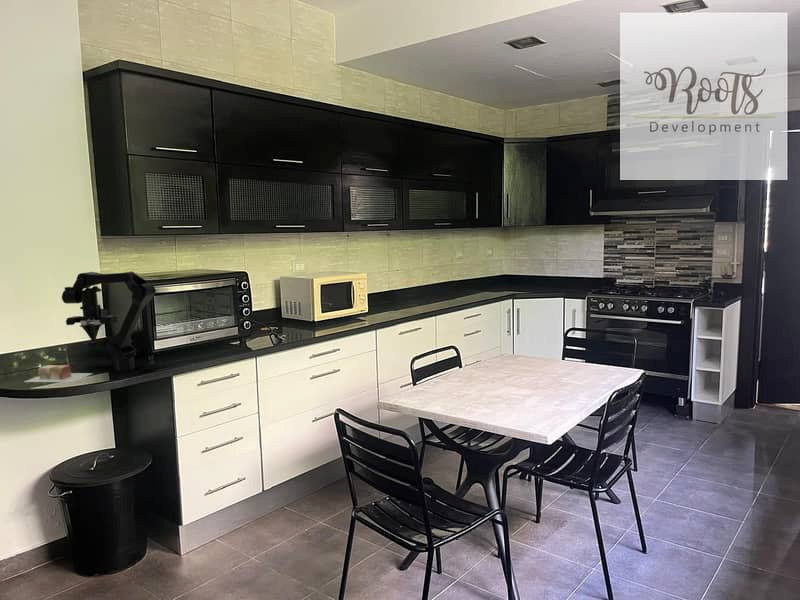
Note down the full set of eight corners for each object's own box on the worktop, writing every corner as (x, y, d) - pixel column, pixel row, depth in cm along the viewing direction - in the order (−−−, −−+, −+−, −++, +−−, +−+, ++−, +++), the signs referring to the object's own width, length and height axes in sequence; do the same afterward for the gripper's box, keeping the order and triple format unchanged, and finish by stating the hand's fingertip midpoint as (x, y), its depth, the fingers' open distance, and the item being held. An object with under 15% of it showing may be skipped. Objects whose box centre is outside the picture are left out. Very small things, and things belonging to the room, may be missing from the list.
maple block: (69, 365, 231) (46, 365, 232) (62, 368, 227) (38, 368, 228) (71, 376, 232) (47, 376, 233) (63, 379, 227) (39, 379, 229)
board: (93, 375, 236) (93, 373, 236) (71, 384, 223) (71, 382, 223) (48, 375, 238) (47, 373, 238) (23, 384, 226) (23, 381, 225)
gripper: (122, 300, 246) (126, 336, 248) (80, 301, 248) (84, 337, 250) (107, 303, 235) (111, 342, 237) (63, 304, 237) (67, 342, 239)
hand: (93, 340), depth 241 cm, fingers closed
